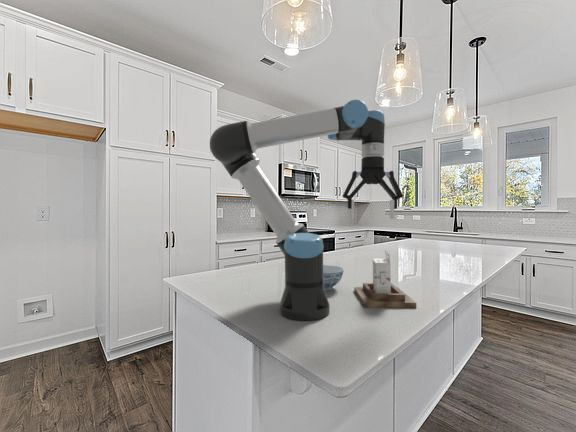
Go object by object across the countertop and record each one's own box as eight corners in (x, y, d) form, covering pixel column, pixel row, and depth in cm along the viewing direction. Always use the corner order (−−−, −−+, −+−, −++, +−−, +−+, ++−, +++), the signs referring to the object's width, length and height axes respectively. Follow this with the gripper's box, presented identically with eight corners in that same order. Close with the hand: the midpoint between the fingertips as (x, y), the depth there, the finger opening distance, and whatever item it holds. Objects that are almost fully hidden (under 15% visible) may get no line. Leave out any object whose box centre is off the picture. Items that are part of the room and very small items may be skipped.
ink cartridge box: (372, 290, 104) (371, 249, 104) (386, 290, 104) (386, 250, 103) (375, 297, 96) (375, 253, 96) (391, 298, 95) (391, 253, 95)
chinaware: (346, 293, 106) (346, 272, 106) (306, 294, 106) (305, 273, 106) (340, 283, 121) (340, 264, 121) (304, 283, 121) (304, 265, 121)
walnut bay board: (364, 307, 91) (364, 296, 91) (354, 291, 109) (354, 281, 109) (416, 307, 90) (416, 296, 90) (397, 291, 108) (397, 281, 108)
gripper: (337, 155, 98) (336, 218, 98) (413, 155, 96) (412, 219, 96) (335, 159, 105) (334, 217, 106) (405, 159, 103) (405, 218, 104)
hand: (371, 218), depth 101 cm, fingers open, 13 cm apart
